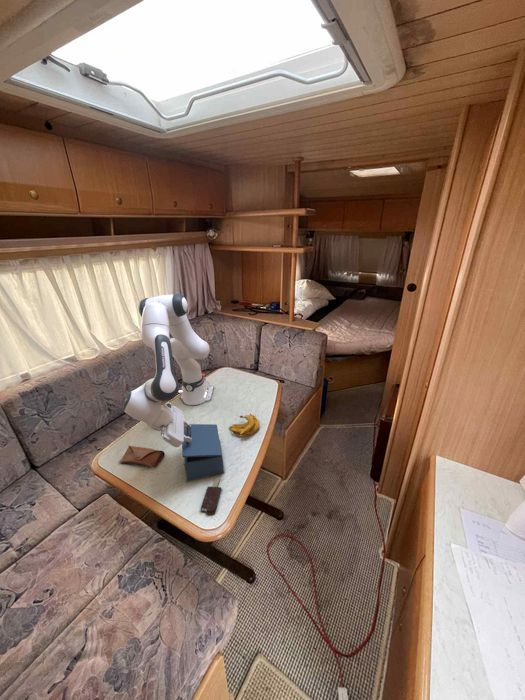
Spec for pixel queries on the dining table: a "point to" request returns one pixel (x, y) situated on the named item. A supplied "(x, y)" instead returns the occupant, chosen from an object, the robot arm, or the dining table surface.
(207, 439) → the cool box lid
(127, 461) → the sunglasses case
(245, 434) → the banana
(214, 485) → the ice cream bar
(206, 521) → the dining table surface
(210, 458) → the cool box
